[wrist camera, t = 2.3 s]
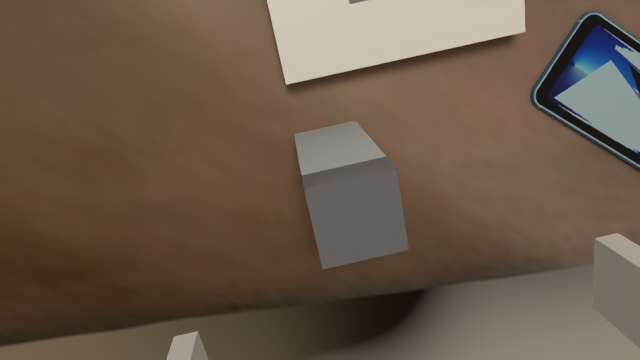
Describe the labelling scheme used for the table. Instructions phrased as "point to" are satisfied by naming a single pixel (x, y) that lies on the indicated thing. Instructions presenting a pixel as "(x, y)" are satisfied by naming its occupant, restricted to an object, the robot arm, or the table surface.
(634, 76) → the smartphone
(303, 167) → the plug
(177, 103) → the table surface
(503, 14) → the socket
